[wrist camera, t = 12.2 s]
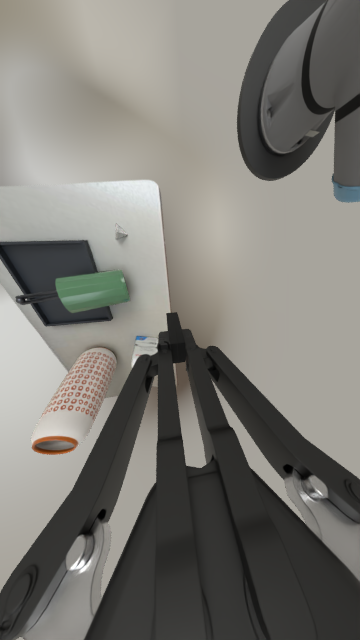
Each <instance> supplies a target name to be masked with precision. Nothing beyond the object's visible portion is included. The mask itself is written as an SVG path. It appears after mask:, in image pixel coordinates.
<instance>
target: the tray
mask: <svg viewBox="0 0 360 640" xmlns="http://www.w3.org/2000/svg"><path fill="white" fill-rule="evenodd" d="M0 259H1V261H2V262H3V264H4V265H5V267H6V268H7V270H8V271H9V273H10V274H11V276H12V277H13V279H14V280H15V282H16V283H17V285H18V286H19V288H20V289H21V291H22V292H23V294H24V295H27V294H33V293H39V292H46V291H52V290H56V285H55V282H56V278H58V277H64V276H72V275H80V274H88V273H95V272H98V271H97V268H96V265H95V262H94V259H93V256H92V253H91V250H90V247H89V244H88V241H85V240H78V241H28V242H0ZM56 295H58V293H57V294H51V295H45V296H39V297H32V298H27V300H32V299H38V298H44V297H50V296H56ZM31 306H32V307H33V309H34V310H35V312H36V313H37V315H38V316H39V318H40V319H41V321H42V322H43V324H44V325H45V326H56V325H68V324H79V323H91V322H102V321H111V320H112V319H113V317H112V314H111V311H110V308H109V306H106V307H101V308H96V309H92V310H87V311H82V312H77V313H71V312H69V311H68V310H67V309H66V308H65V306H64V305H63V303H62V302H61V300H60V299H54V300H49V301H43V302H37V303H31Z"/></svg>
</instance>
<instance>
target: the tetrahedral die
mask: <svg viewBox="0 0 360 640" xmlns="http://www.w3.org/2000/svg"><path fill="white" fill-rule="evenodd" d="M127 235H128V234H127V233H126V232H125V231H124V230H123V229H121V228H120V227H119V226H118V225H117V224H116V239H118V238H121V237H124V236H127Z"/></svg>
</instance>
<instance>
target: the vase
mask: <svg viewBox="0 0 360 640" xmlns="http://www.w3.org/2000/svg"><path fill="white" fill-rule="evenodd" d="M116 365H117V361H116V357H115V355H114V354H113V353H112V351H110V350H109V349H107V348H103V347H97V348H92V349H89V350H87V351H85V352H84V353H82V354H81V355H80V356H79V358H78V359H77V360H76V362H75V363H74V365H73V366H72V368H71V369H70V371H69V372H68V374H67V375H66V377H65V379H64V380H63V381H62V383H61V385H60V386H59V388H58V390H57V391H56V393H55V394H54V396H53V397H52V399H51V401H50V402H49V404H48V406H47V407H46V409H45V411H44V413H43V414H42V416H41V418H40V420H39V421H38V423H37V425H36V427H35V429H34V431H33V434H32V437H31V442H32V444H33V445H32V449H33V450H34V451H35V452H38V453H42V454H49V455H50V454H51V455H55V454H63V453H68V452H70V451H73V450H74V449H75V448H76V447H77V446H78V445H79V444H81V443H82V442H83V440H84V439H85V438H86V436H87V435H88V433H89V431H90V429H91V427H92V425H93V423H94V421H95V418H96V416H97V414H98V412H99V409H100V407H101V405H102V402H103V400H104V397H105V395H106V393H107V390H108V387H109V385H110V382H111V380H112V377H113V374H114V372H115V369H116Z"/></svg>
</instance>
